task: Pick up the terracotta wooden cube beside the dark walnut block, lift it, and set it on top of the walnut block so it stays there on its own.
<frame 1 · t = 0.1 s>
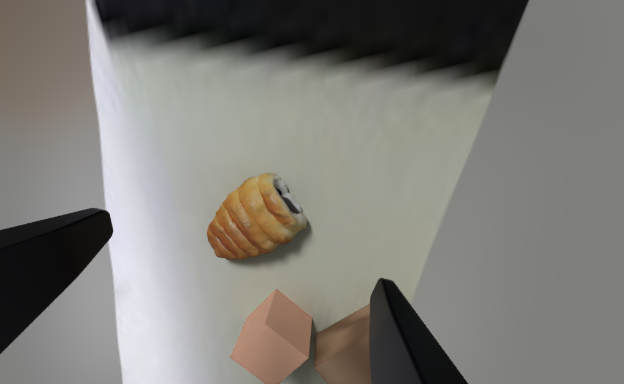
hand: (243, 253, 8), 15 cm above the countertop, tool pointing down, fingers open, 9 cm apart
pastry: (262, 214, 25), on the countertop
terracotta cube: (279, 317, 27), on the countertop
walnut base: (374, 344, 27), on the countertop
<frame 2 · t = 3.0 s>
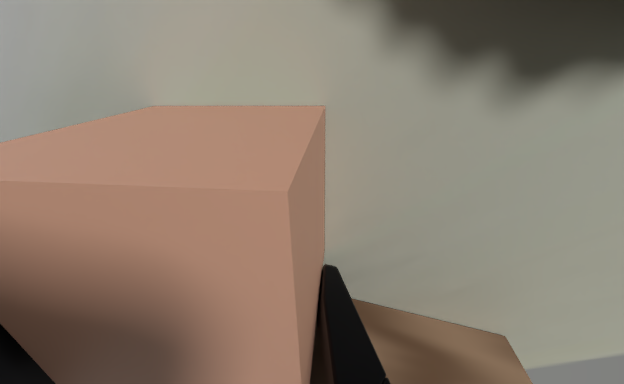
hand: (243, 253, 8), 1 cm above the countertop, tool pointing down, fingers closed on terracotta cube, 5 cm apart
terracotta cube: (248, 186, 8), on the countertop, touching gripper
walnut base: (361, 368, 12), on the countertop
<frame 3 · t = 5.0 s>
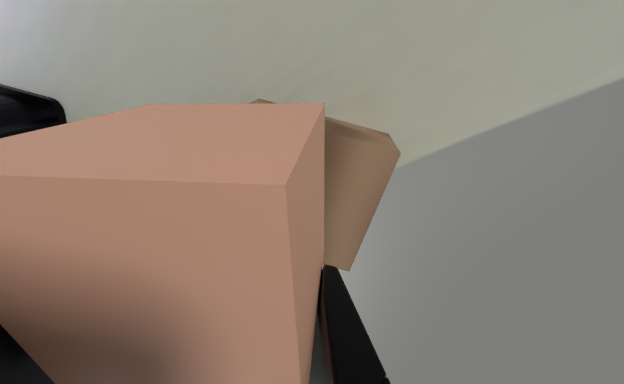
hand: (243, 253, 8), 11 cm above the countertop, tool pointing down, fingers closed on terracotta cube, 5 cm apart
terracotta cube: (247, 184, 8), point 10 cm above the countertop, touching gripper
walnut base: (308, 175, 19), on the countertop
when the fingers open (6 cm above the countertop, at t = 6.8 s): terracotta cube drops 1 cm, resting on walnut base.
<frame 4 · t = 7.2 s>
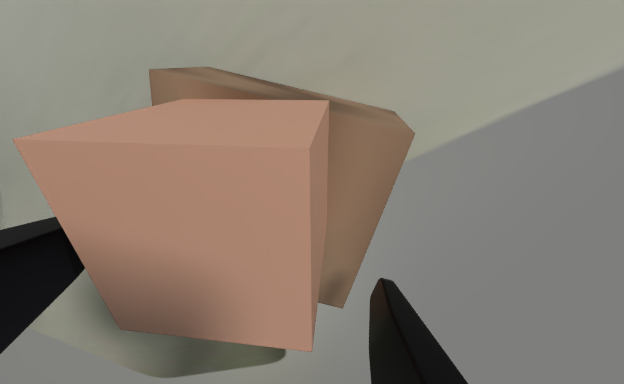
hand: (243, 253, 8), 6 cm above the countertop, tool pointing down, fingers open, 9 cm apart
terracotta cube: (261, 169, 9), point 4 cm above the countertop, touching walnut base
walnut base: (285, 174, 14), on the countertop
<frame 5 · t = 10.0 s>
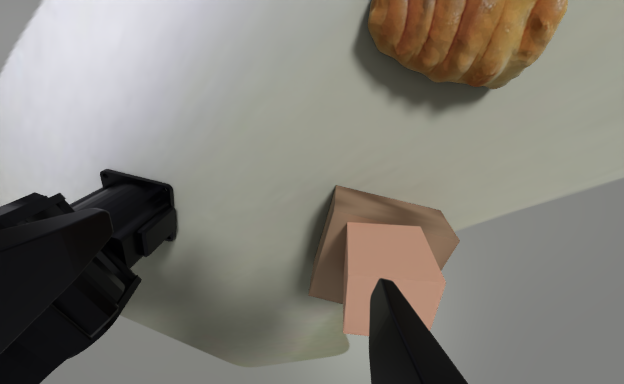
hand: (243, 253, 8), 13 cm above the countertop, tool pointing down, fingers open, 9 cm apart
pastry: (453, 26, 16), on the countertop
terracotta cube: (379, 251, 19), point 4 cm above the countertop, touching walnut base
walnut base: (371, 239, 23), on the countertop
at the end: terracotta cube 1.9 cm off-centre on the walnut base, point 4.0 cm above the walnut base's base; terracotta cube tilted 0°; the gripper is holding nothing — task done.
